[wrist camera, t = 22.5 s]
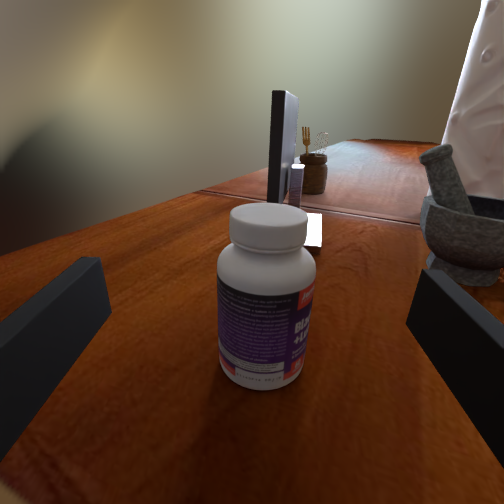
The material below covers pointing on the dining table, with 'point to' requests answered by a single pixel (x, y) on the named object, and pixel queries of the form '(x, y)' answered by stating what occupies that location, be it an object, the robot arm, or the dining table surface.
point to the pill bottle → (265, 295)
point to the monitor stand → (314, 219)
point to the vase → (481, 108)
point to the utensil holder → (313, 168)
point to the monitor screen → (281, 144)
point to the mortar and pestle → (460, 224)
